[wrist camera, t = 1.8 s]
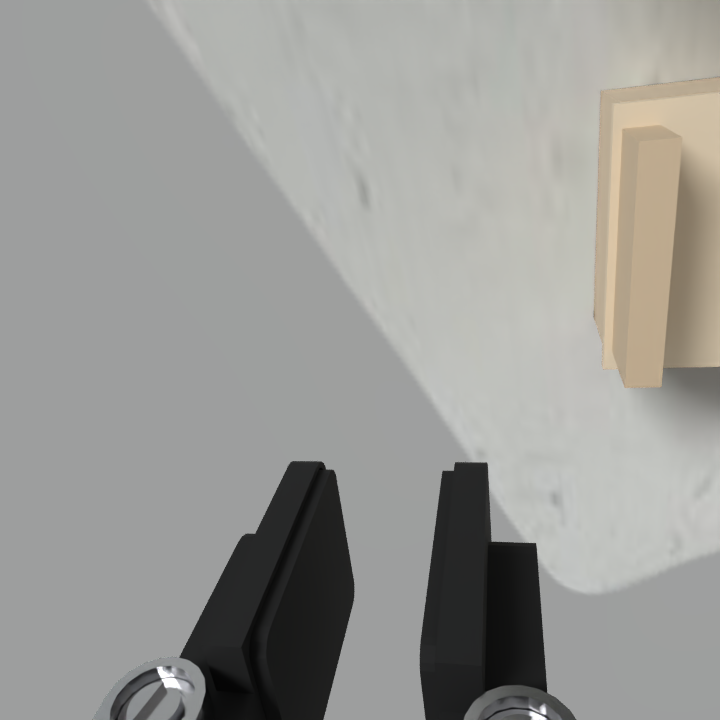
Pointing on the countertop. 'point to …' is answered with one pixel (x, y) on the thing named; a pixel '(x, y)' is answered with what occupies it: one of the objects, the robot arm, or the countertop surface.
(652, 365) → the lid
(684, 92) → the mailer box
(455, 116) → the countertop surface
